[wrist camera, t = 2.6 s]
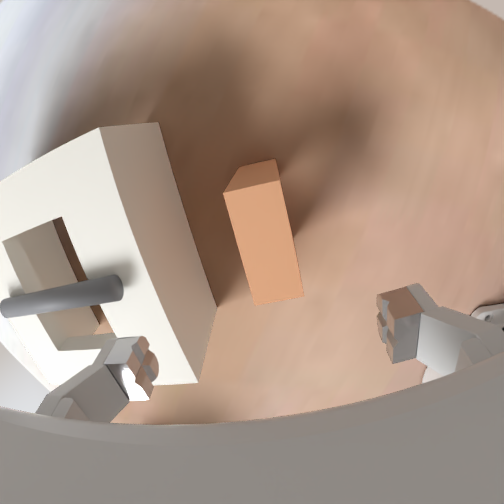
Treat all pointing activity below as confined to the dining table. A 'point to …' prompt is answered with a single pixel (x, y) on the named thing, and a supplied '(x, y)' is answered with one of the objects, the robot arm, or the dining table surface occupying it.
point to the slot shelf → (103, 255)
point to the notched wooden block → (263, 232)
